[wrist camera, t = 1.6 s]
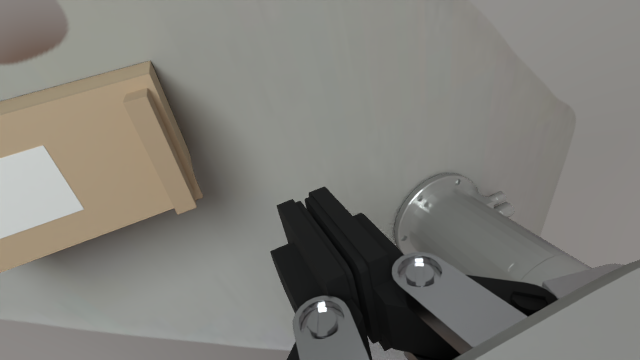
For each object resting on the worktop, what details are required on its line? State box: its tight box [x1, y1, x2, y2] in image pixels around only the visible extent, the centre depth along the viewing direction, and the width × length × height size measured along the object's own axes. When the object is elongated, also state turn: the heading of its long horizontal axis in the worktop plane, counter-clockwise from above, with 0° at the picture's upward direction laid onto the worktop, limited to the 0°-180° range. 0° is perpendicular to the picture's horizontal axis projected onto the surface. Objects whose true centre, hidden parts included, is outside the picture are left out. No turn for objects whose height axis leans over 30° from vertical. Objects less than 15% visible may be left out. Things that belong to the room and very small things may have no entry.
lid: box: [0, 72, 203, 273], centre depth 20 cm, size 16×9×3 cm, turn 103°
